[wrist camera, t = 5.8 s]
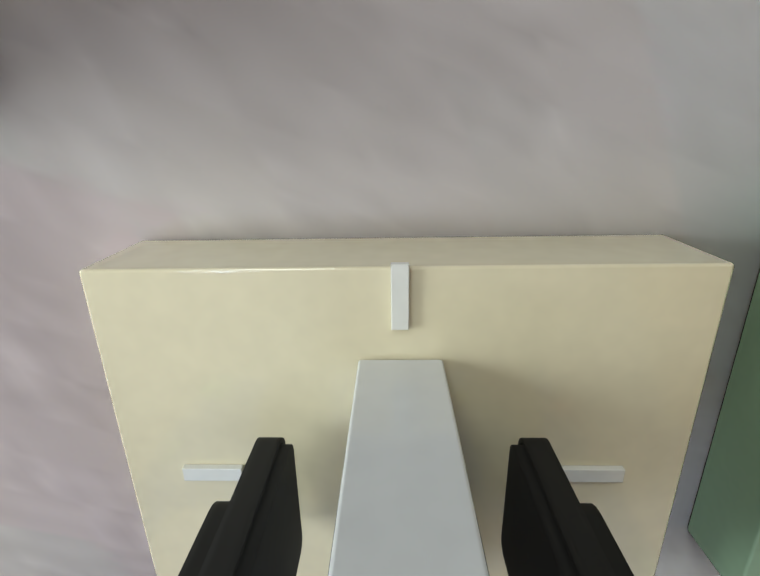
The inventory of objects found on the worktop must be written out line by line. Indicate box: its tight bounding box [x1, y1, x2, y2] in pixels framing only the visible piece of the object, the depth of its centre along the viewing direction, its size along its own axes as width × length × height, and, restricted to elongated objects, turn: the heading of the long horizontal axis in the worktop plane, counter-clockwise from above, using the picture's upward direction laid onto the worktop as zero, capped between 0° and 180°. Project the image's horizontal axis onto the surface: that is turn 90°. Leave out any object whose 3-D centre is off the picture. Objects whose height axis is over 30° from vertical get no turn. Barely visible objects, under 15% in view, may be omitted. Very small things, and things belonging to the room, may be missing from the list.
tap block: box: [79, 235, 734, 576], centre depth 12 cm, size 13×10×3 cm
